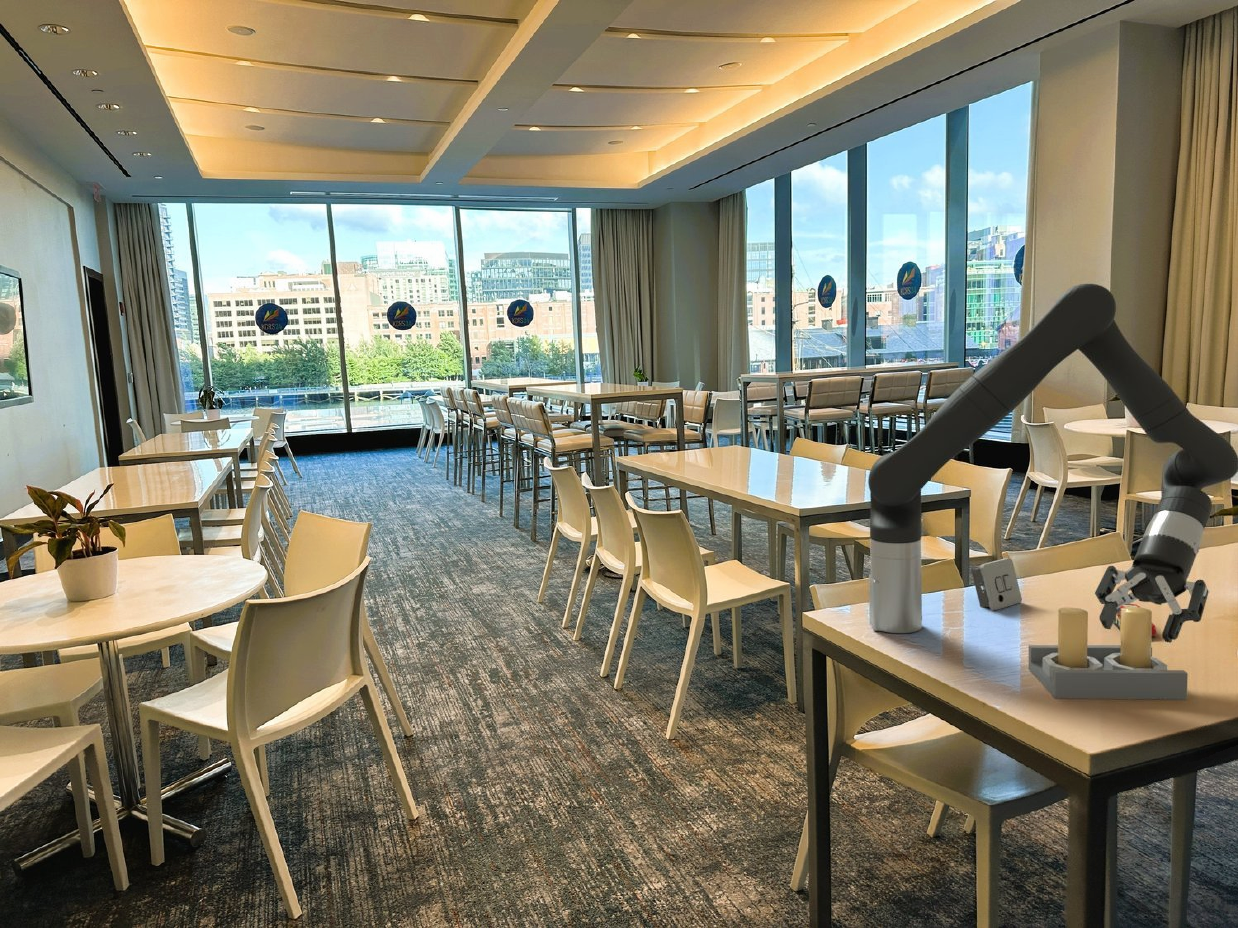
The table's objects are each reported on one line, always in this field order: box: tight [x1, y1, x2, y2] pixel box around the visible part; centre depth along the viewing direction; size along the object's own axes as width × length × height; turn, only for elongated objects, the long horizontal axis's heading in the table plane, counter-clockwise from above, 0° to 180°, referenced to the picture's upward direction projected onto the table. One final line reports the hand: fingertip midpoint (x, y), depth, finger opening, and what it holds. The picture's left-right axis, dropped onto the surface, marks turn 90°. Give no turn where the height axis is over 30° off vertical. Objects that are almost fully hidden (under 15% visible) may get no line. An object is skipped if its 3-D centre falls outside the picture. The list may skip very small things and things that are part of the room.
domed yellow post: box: [1120, 606, 1153, 668], centre depth 128 cm, size 4×4×10 cm
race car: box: [1113, 603, 1157, 638], centre depth 153 cm, size 13×5×4 cm, turn 162°
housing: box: [1027, 606, 1189, 701], centre depth 129 cm, size 18×12×12 cm, turn 82°
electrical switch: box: [971, 557, 1023, 611], centre depth 171 cm, size 9×5×9 cm, turn 121°
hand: (1135, 632), depth 128 cm, fingers open, 8 cm apart
